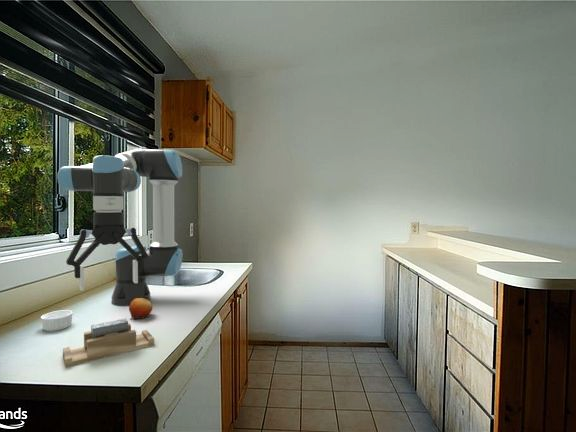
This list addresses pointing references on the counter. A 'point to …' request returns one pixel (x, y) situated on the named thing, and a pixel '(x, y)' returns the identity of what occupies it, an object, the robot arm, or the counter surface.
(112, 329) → the clip
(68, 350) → the rail
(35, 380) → the counter surface
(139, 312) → the fruit
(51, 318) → the ramekin
